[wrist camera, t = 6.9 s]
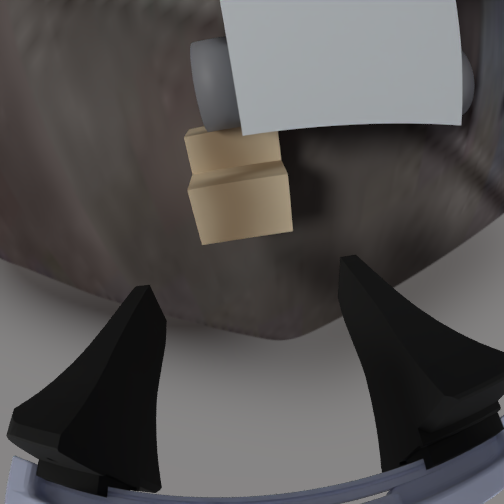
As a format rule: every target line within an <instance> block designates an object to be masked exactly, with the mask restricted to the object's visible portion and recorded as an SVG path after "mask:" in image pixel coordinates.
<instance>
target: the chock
mask: <svg viewBox="0 0 504 504" xmlns="http://www.w3.org/2000/svg"><path fill="white" fill-rule="evenodd" d="M184 139H185V144H186V148H187V152H188V157H189V161H190V165H191V169H192V173H193V175H192V178H191V181H190V184H189V187H188V194H189V198H190V201H191V205H192V209H193V213H194V217H195V220H196V224H197V228H198V231H199V235H200V238H201V242H202V245H205V244H211V243H218V242H224V241H230V240H237V239H244V238H250V237H257V236H264V235H270V234H277V233H284V232H291V231H293V226H292V214H291V202H290V191H289V181H288V173H287V171H286V169H285V167H284V165H283V163H282V161H281V153H280V144H279V136H278V131H274V132H266V133H259V134H252V135H245V136H243V135H242V128H241V127H236V128H230V129H224V130H219V131H213V132H207V130H206V129H205V126H203V127H198V128H193V129H189V130H188V132H187V134H186V135H185V137H184Z"/></svg>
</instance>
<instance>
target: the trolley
mask: <svg viewBox="0 0 504 504" xmlns="http://www.w3.org/2000/svg"><path fill="white" fill-rule="evenodd" d="M220 3H221V9H222V15H223V20H224V26H225V32H226V36H225V37H219V38H213V39H208V40H202V41H198V42H193V43H191V47H190V57H191V68H192V75H193V82H194V87H195V93H196V98H197V102H198V106H199V110H200V114H201V117H202V121H203V124H204V126H205V129H206V130H207V132H213V131H219V130H224V129H230V128H236V127H241V128H242V135H243V136H245V135H252V134H259V133H266V132H274V131H282V130H291V129H300V128H311V127H323V126H337V125H355V124H387V123H413V124H445V125H461V122H462V115H463V114H464V113H465V112H466V111H467V110H468V109H469V107H470V105H471V102H472V99H473V95H474V76H473V71H472V68H471V65H470V63H469V60H468V58H467V57H466V55H465V54H464V52H463V51H462V50H461V40H460V30H459V21H458V13H457V7H456V0H220Z"/></svg>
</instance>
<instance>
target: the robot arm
mask: <svg viewBox="0 0 504 504" xmlns="http://www.w3.org/2000/svg"><path fill="white" fill-rule="evenodd" d="M338 299H339V303H340V307H341V311H342V314H343V318H344V321H345V323H346V326H347V328H348V331H349V334H350V336H351V339H352V341H353V344H354V346H355V349H356V351H357V354H358V356H359V359H360V361H361V364H362V367H363V370H364V373H365V376H366V380H367V384H368V389H369V392H370V397H371V402H372V406H373V411H374V416H375V422H376V428H377V434H378V441H379V450H380V458H381V469H382V473H380V474H377V475H373V476H370V477H366V478H362V479H359V480H355V481H351V482H346V483H342V484H338V485H333V486H328V487H323V488H317V489H312V490H306V491H299V492H292V493H284V494H276V495H264V496H250V497H221V498H220V497H183V496H169V495H159V494H150V493H142V492H135V491H143V492H144V491H145V492H152V493H156V492H157V491H159V490H160V489H161V488H162V486H161V480H160V472H159V465H158V454H157V441H156V403H157V392H158V386H159V379H160V373H161V367H162V361H163V356H164V349H165V344H166V343H165V342H166V322H167V321H166V319H165V316H164V314H163V312H162V310H161V308H160V306H159V304H158V302H157V300H156V298H155V295H154V293H153V291H152V289H151V287H150V285H144V286H136V287H135V288H134V289H133V290H132V291H131V293H130V294H129V295H128V297H127V298H126V299H125V300H124V302H123V303H122V304H121V306H120V307H119V308H118V310H117V311H116V312H115V314H114V315H113V316H112V317H111V319H110V320H109V321H108V323H107V324H106V325H105V327H104V328H103V329H102V330H101V331H100V333H99V334H98V335H97V336H96V338H95V339H94V340H93V341H92V343H91V344H90V345H89V346H88V347H87V348H86V349H85V351H84V352H83V353H82V354H81V355H80V356H79V357H78V358H77V359H76V360H75V361H74V362H73V363H72V364H71V365H70V366H69V367H68V368H67V369H66V370H65V371H64V372H63V373H62V374H60V375H59V376H58V377H57V378H56V379H55V380H54V381H53V382H51V383H50V384H49V385H48V386H46V387H45V388H44V389H43V390H42V391H40V392H39V393H37V394H36V395H34V396H33V397H32V398H30V399H29V400H27V401H25V402H24V403H22V404H21V405H20V406H18V407H16V408H15V409H14V411H13V414H12V418H11V421H10V424H9V428H8V432H7V438H8V439H9V440H10V441H11V442H12V443H14V444H15V445H17V446H18V447H19V448H21V449H23V450H24V451H26V452H27V453H29V454H31V455H32V456H34V457H36V458H38V459H39V462H38V465H37V464H35V463H32V462H30V461H28V460H25V459H22V458H20V457H17V456H13V459H12V464H11V468H10V473H9V479H8V484H7V490H6V497H5V504H341V503H345V502H350V501H353V500H358V499H361V498H365V497H368V496H372V495H375V494H379V493H382V492H386V491H389V490H390V491H389V492H388V493H387V495H386V496H384V497H381V498H378V499H375V500H372V501H368V502H365V503H362V504H484V503H485V502H487V501H488V500H490V499H491V498H493V497H494V496H495V495H497V494H498V493H499V492H501V491H502V490H503V489H504V415H503V416H502V417H501V418H500V417H499V415H498V413H497V412H498V411H499V410H500V408H501V407H500V404H499V402H498V400H499V399H500V398H501V397H502V396H503V395H504V352H502V351H500V350H497V349H494V348H491V347H489V346H486V345H484V344H481V343H479V342H477V341H475V340H472V339H470V338H468V337H466V336H464V335H462V334H460V333H458V332H456V331H455V330H453V329H451V328H449V327H447V326H446V325H444V324H442V323H440V322H439V321H437V320H435V319H434V318H433V317H431V316H430V315H428V314H427V313H425V312H423V311H422V310H421V309H419V308H418V307H416V306H415V305H414V304H412V303H411V302H410V301H409V300H407V299H406V298H405V297H403V296H402V295H401V294H400V293H398V292H397V291H396V290H395V289H394V288H392V287H391V286H390V285H389V284H388V283H387V282H385V281H384V280H383V279H382V278H381V277H380V276H379V275H378V274H377V273H375V272H374V271H373V270H372V269H371V268H370V267H369V266H368V265H367V264H365V263H364V262H363V261H362V260H361V259H360V258H359V257H358V256H356V255H351V256H345V257H340V273H339V289H338ZM130 490H133V491H130Z"/></svg>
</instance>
